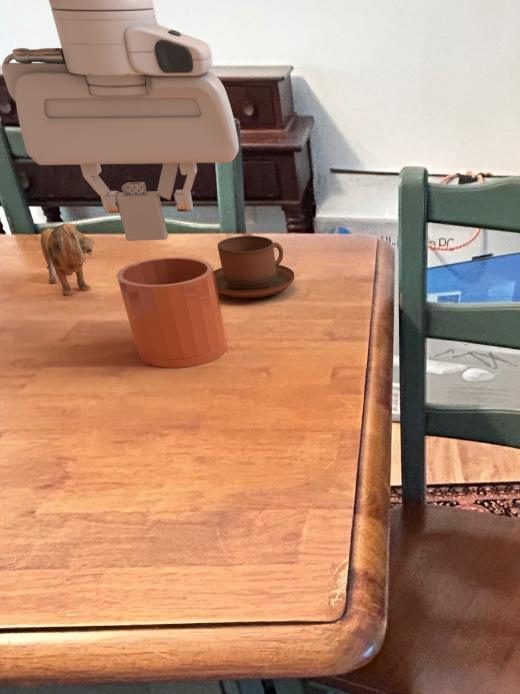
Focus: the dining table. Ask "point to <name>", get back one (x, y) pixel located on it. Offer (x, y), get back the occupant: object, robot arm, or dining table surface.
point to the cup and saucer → (251, 268)
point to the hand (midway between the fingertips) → (150, 211)
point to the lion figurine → (66, 254)
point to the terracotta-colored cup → (173, 311)
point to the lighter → (146, 206)
